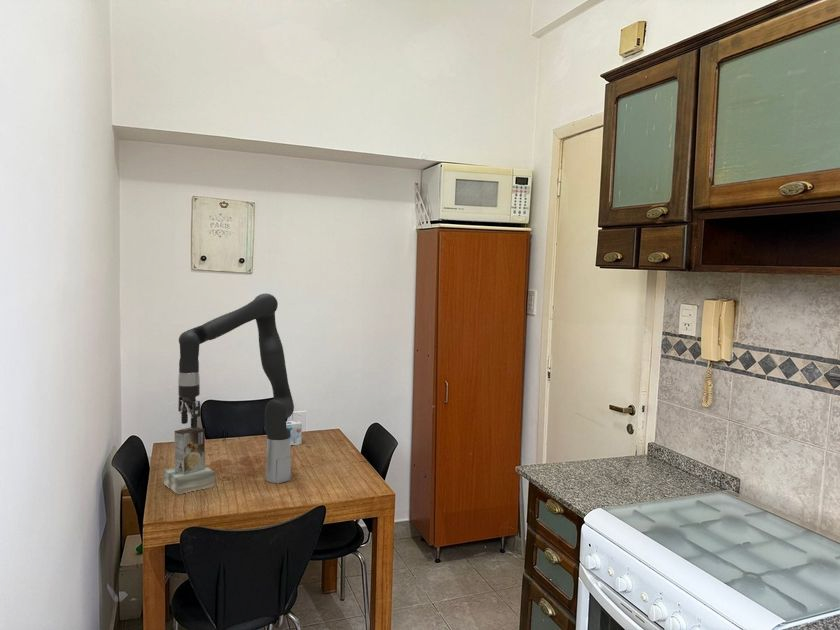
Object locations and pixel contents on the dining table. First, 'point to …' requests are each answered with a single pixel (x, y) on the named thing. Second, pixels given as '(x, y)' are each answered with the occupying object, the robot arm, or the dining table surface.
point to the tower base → (190, 487)
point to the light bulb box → (295, 432)
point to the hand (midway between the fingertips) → (189, 425)
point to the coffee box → (189, 450)
